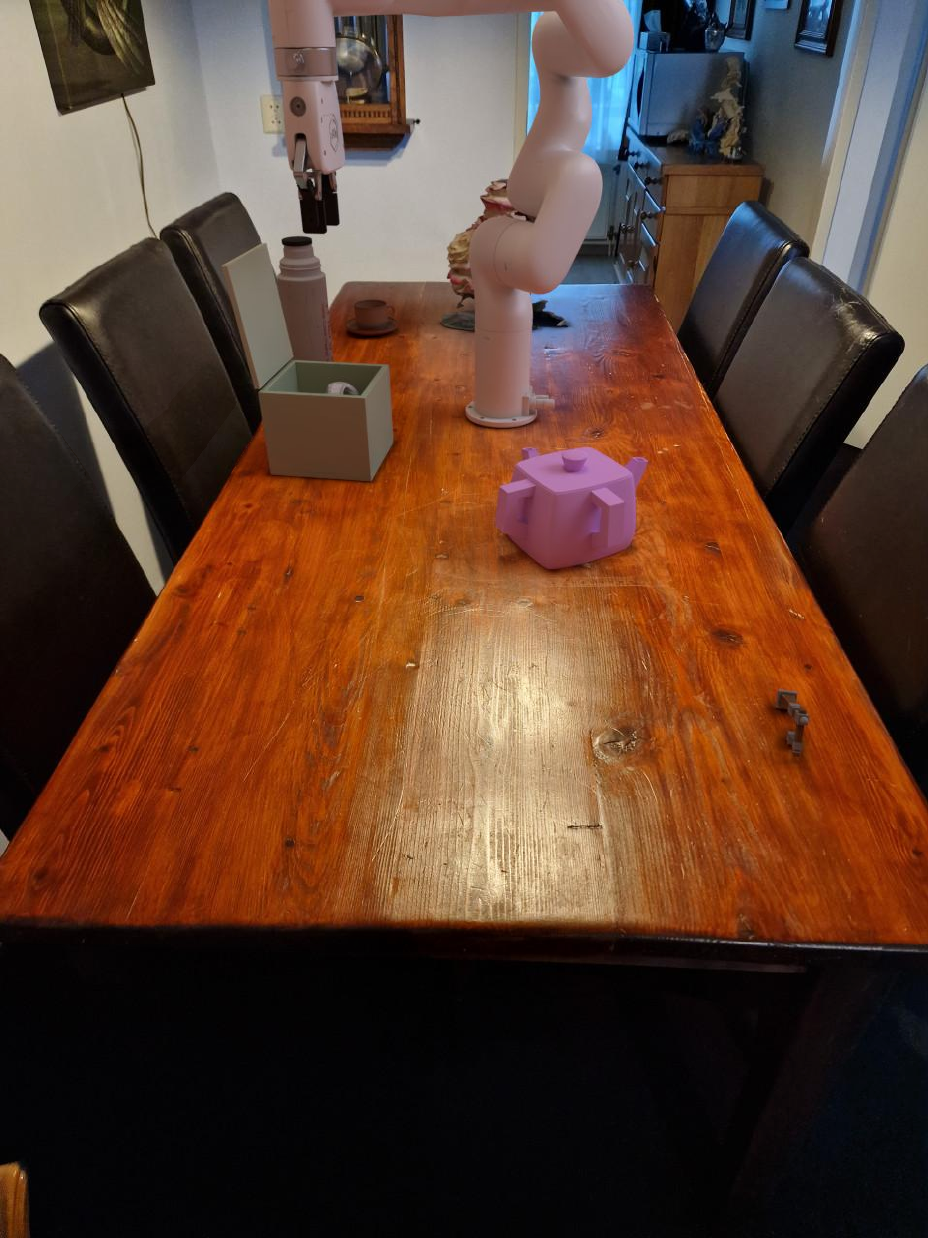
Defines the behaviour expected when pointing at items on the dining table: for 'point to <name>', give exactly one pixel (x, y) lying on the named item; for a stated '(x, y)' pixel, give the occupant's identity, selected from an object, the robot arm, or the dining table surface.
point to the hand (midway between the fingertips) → (321, 227)
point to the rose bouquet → (460, 263)
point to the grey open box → (327, 420)
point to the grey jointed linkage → (800, 716)
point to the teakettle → (570, 505)
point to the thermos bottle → (304, 301)
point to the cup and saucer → (372, 318)
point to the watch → (341, 389)
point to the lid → (258, 313)
